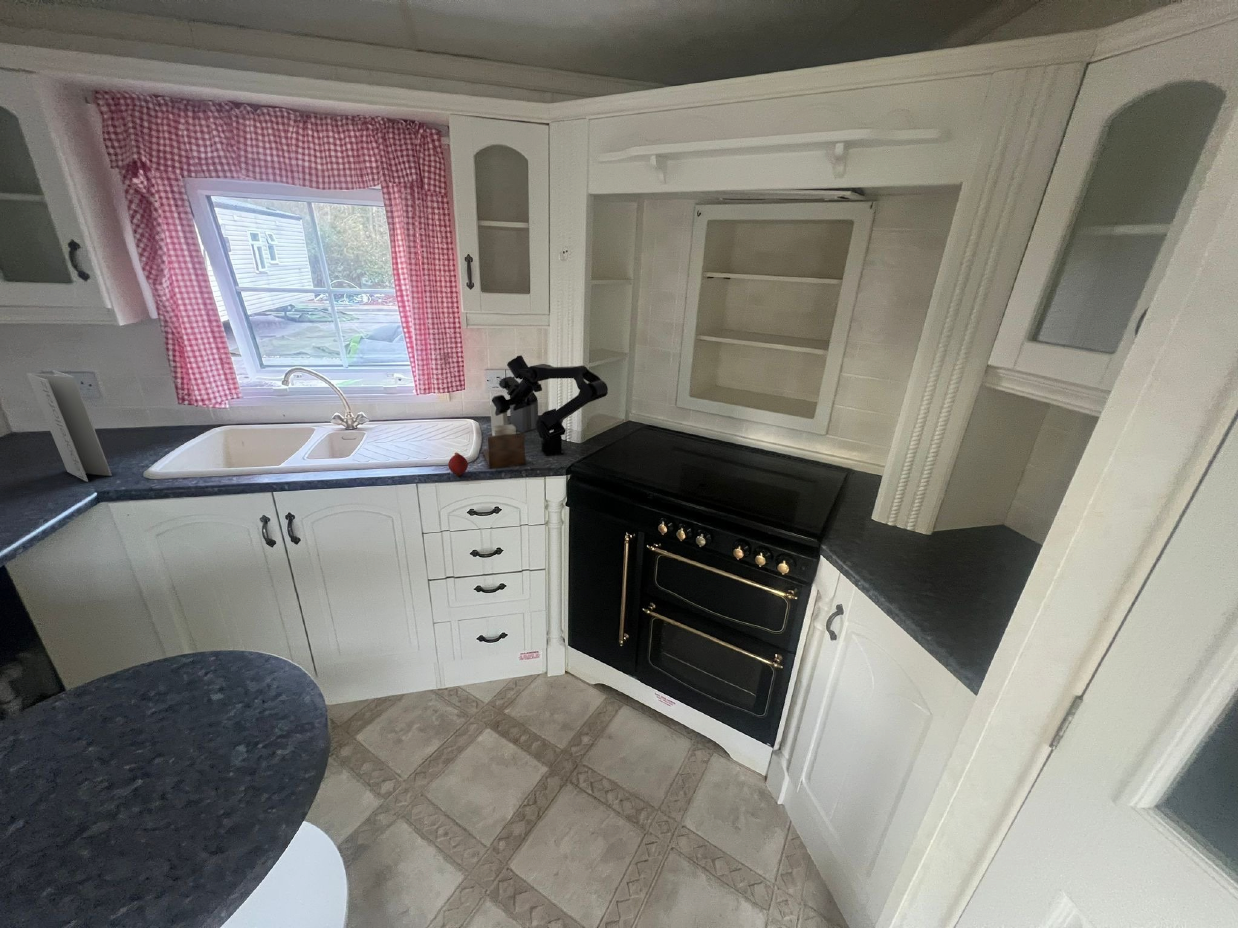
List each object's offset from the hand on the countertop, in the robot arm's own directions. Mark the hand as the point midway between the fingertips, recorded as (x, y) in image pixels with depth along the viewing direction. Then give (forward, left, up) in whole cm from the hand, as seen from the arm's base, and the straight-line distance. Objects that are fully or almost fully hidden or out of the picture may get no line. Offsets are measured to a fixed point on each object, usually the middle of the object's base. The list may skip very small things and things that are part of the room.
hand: (505, 412), depth 189 cm
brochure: (+125, -2, -11) cm, 125 cm away
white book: (+2, -3, -10) cm, 11 cm away
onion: (+21, +32, -11) cm, 40 cm away
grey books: (-10, -10, -10) cm, 18 cm away
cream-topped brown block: (+5, +21, -10) cm, 24 cm away
